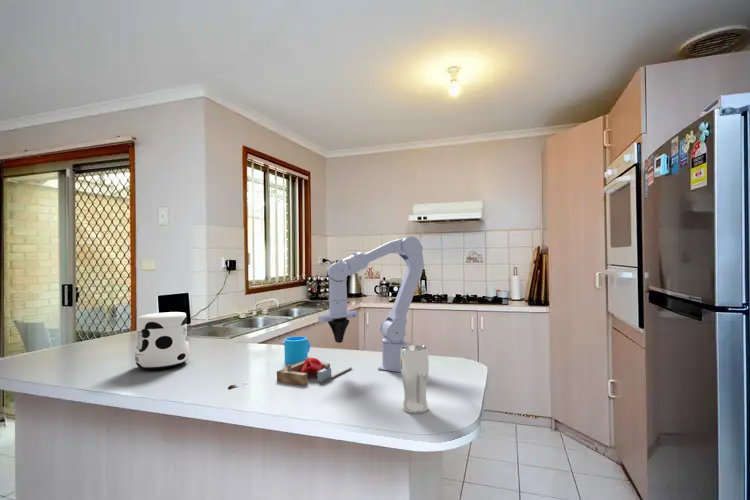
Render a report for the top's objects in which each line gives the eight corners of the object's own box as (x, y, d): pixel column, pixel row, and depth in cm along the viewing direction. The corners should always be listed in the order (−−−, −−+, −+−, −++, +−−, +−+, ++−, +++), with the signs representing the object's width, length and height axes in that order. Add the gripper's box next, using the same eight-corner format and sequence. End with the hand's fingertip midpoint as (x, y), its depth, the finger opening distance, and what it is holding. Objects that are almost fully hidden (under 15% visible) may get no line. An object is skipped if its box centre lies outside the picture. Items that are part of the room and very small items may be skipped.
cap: (324, 369, 124) (325, 354, 129) (305, 364, 123) (308, 350, 128) (316, 386, 128) (317, 371, 133) (298, 381, 126) (300, 367, 131)
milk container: (199, 359, 152) (198, 311, 152) (171, 373, 134) (170, 318, 134) (155, 359, 153) (155, 311, 153) (123, 372, 136) (122, 319, 136)
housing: (351, 369, 134) (351, 355, 134) (315, 387, 117) (315, 371, 117) (315, 364, 141) (315, 351, 141) (276, 381, 123) (276, 366, 123)
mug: (298, 365, 141) (297, 341, 141) (279, 362, 145) (279, 340, 145) (318, 357, 152) (317, 335, 152) (300, 355, 155) (300, 333, 155)
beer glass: (399, 404, 102) (398, 344, 102) (426, 403, 103) (425, 343, 103) (403, 415, 95) (402, 351, 96) (432, 413, 96) (431, 350, 96)
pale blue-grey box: (331, 377, 125) (331, 365, 125) (321, 382, 121) (321, 369, 121) (327, 376, 126) (326, 364, 126) (317, 381, 122) (317, 368, 122)
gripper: (327, 303, 123) (328, 347, 123) (363, 298, 133) (364, 340, 133) (314, 301, 128) (314, 344, 128) (349, 297, 138) (350, 337, 138)
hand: (339, 342), depth 131 cm, fingers closed
